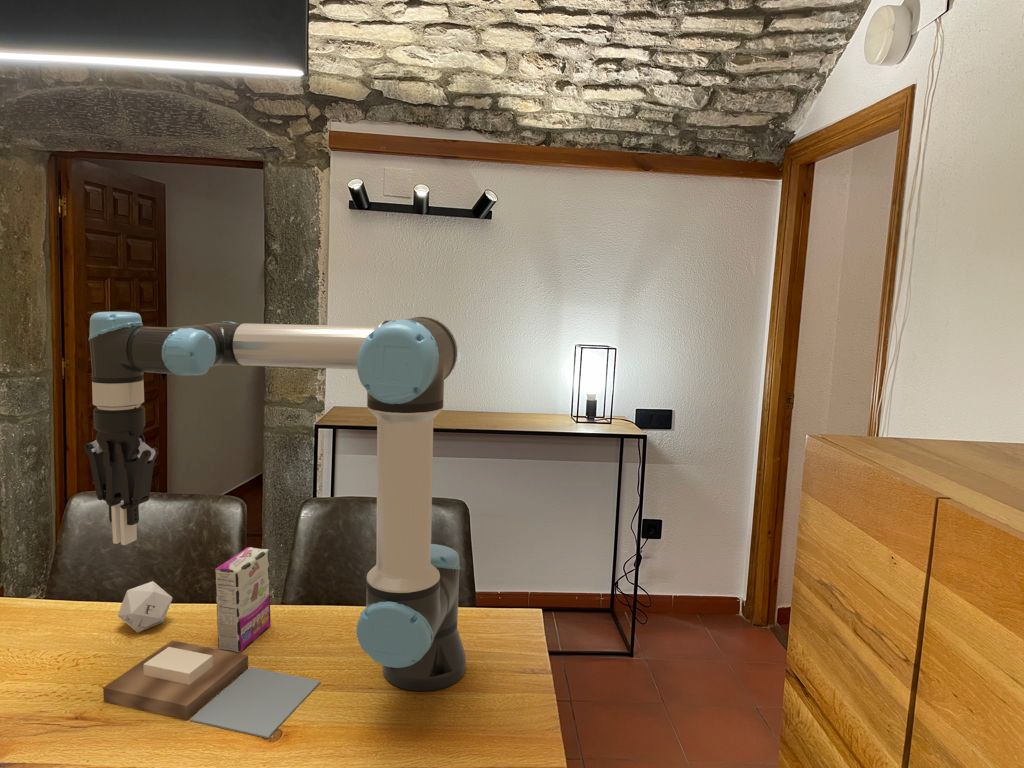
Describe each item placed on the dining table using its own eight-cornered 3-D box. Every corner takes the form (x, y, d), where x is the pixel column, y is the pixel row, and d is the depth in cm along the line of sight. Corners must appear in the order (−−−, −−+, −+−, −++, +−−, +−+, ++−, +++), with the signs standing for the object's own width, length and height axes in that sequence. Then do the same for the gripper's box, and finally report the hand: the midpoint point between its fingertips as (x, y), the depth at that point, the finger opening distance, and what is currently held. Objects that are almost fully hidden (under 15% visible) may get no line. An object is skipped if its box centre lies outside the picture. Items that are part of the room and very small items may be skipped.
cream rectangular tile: (212, 666, 124) (212, 655, 124) (189, 684, 119) (189, 673, 118) (169, 657, 127) (168, 646, 126) (143, 675, 121) (143, 664, 120)
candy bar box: (249, 622, 145) (247, 545, 142) (271, 626, 144) (270, 548, 141) (215, 650, 134) (213, 567, 132) (239, 654, 133) (238, 571, 131)
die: (109, 637, 138) (125, 607, 134) (119, 598, 145) (134, 568, 141) (156, 643, 142) (172, 615, 138) (163, 605, 149) (179, 576, 145)
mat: (320, 682, 125) (320, 680, 125) (267, 738, 110) (267, 736, 110) (250, 668, 129) (250, 666, 129) (189, 720, 113) (189, 719, 113)
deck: (248, 668, 129) (247, 655, 128) (187, 720, 113) (186, 705, 113) (172, 652, 133) (172, 640, 132) (103, 701, 117) (103, 687, 117)
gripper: (171, 405, 120) (175, 539, 124) (102, 398, 123) (108, 528, 127) (137, 413, 113) (143, 555, 116) (65, 405, 116) (72, 543, 120)
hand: (125, 541), depth 122 cm, fingers closed
